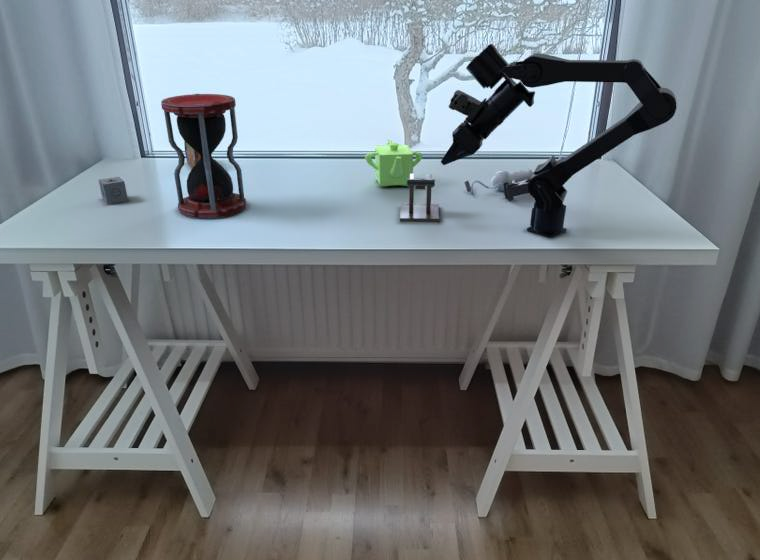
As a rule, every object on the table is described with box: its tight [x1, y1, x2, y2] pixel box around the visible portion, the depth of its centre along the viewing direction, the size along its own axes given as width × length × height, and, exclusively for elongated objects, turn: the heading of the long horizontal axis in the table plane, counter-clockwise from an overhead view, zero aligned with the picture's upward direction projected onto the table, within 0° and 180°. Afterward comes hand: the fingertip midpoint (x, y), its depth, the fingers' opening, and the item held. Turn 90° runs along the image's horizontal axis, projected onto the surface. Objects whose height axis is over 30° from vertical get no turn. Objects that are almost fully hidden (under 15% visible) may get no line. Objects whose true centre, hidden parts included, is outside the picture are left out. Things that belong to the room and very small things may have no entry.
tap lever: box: [406, 177, 436, 191], centre depth 147 cm, size 11×6×2 cm, turn 177°
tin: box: [183, 140, 200, 169], centre depth 191 cm, size 15×3×8 cm, turn 25°
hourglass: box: [160, 93, 247, 219], centre depth 153 cm, size 16×16×25 cm
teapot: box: [364, 139, 423, 188], centre depth 175 cm, size 15×13×11 cm
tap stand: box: [399, 173, 440, 223], centre depth 153 cm, size 11×9×9 cm
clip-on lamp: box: [464, 168, 534, 202], centre depth 169 cm, size 12×6×18 cm
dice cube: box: [98, 176, 129, 206], centre depth 164 cm, size 5×5×5 cm
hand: (446, 158), depth 145 cm, fingers open, 9 cm apart
